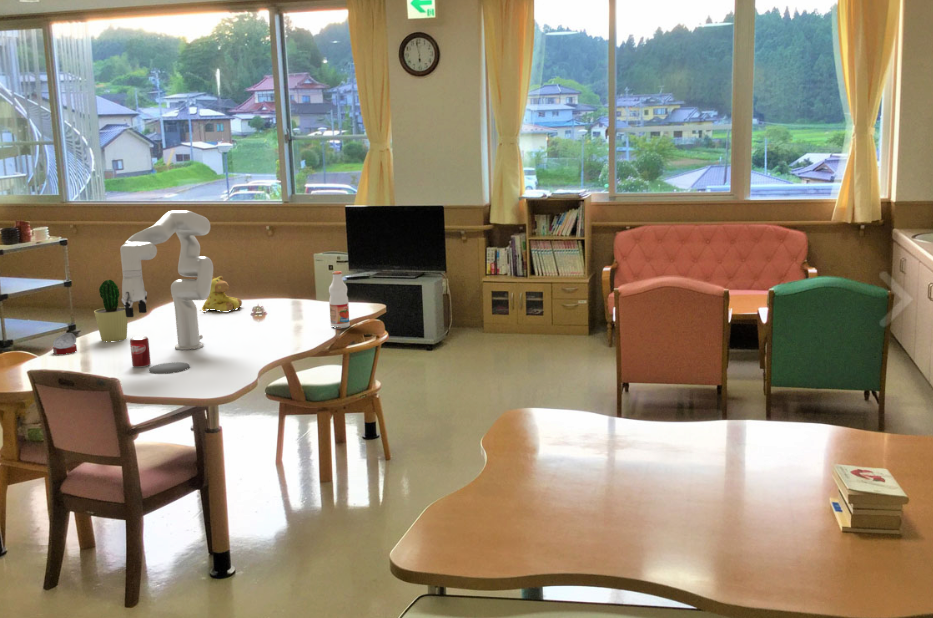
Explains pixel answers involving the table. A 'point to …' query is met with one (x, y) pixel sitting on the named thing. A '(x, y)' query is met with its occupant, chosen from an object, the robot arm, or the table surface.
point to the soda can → (140, 351)
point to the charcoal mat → (169, 367)
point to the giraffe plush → (220, 297)
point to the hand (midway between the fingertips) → (136, 314)
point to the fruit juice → (338, 301)
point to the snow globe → (65, 344)
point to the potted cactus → (111, 314)
